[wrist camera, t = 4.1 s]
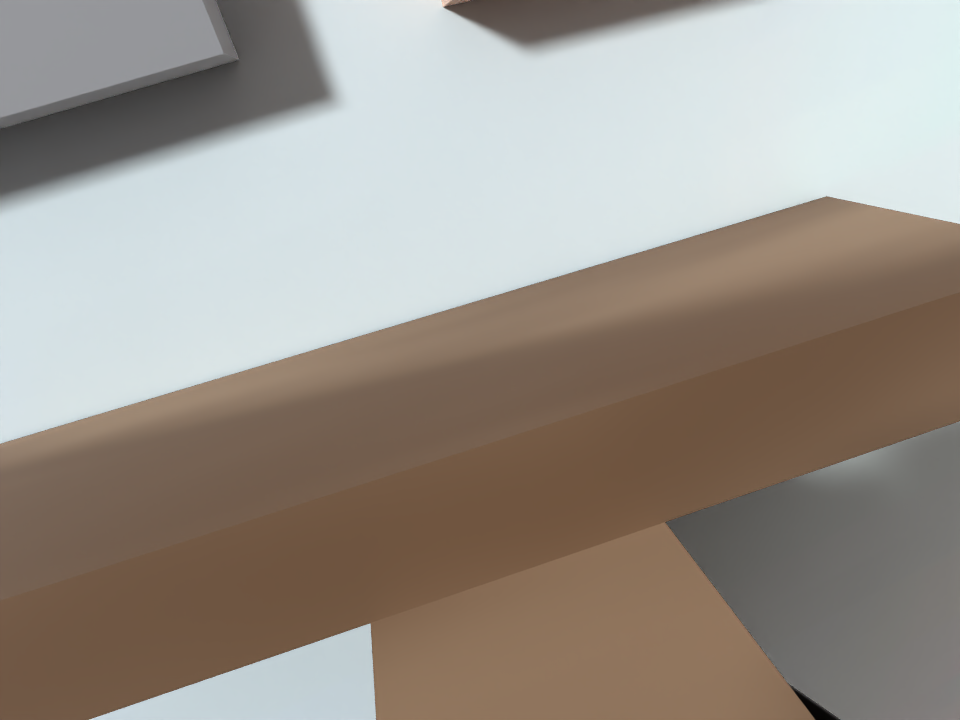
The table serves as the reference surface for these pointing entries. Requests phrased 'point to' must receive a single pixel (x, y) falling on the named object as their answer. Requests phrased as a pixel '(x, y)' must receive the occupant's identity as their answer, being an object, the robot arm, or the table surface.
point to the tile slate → (100, 50)
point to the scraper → (484, 484)
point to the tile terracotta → (452, 2)
